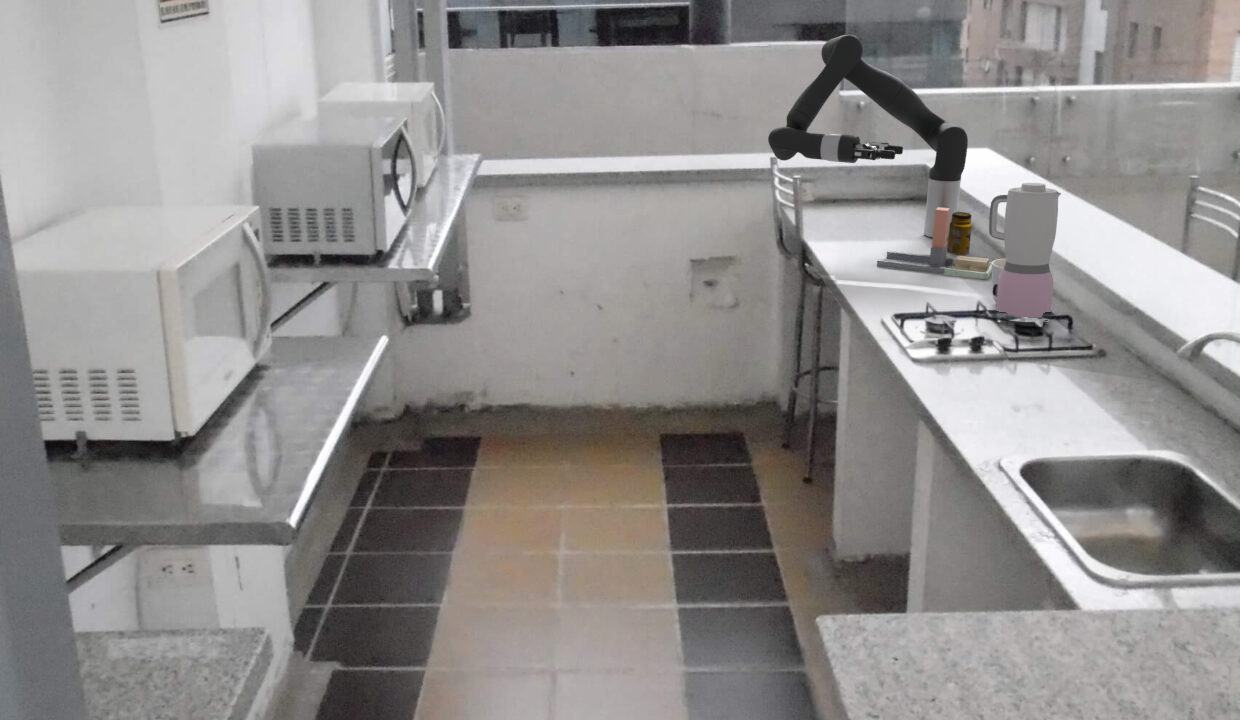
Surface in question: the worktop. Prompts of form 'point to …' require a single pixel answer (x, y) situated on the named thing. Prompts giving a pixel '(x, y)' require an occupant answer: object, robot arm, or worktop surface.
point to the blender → (1026, 249)
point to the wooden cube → (963, 263)
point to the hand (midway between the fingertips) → (898, 152)
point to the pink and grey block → (940, 237)
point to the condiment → (959, 233)
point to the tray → (969, 272)
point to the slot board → (912, 262)
